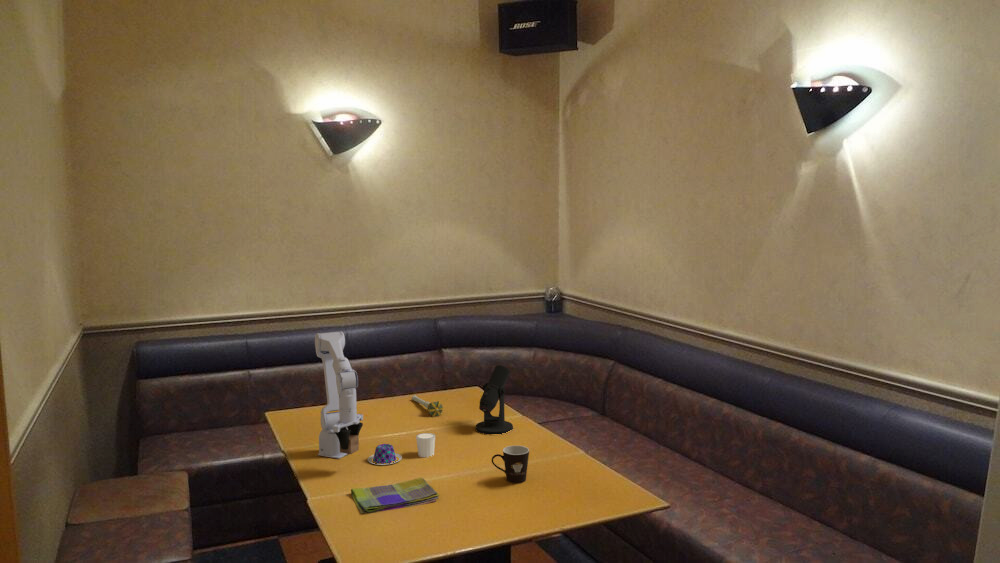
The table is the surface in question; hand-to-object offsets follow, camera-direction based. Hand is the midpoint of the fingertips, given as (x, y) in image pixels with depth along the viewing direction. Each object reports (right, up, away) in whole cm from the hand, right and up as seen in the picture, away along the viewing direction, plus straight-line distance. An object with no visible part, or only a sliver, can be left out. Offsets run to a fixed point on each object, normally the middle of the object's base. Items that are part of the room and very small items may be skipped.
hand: (349, 446), depth 244 cm
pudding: (+10, -8, +12) cm, 17 cm away
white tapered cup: (+24, -7, +17) cm, 30 cm away
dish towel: (+18, -12, -20) cm, 29 cm away
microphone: (+49, -3, +45) cm, 66 cm away
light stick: (+18, 0, +73) cm, 75 cm away
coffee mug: (+55, -9, -6) cm, 56 cm away
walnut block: (0, -2, 0) cm, 2 cm away
